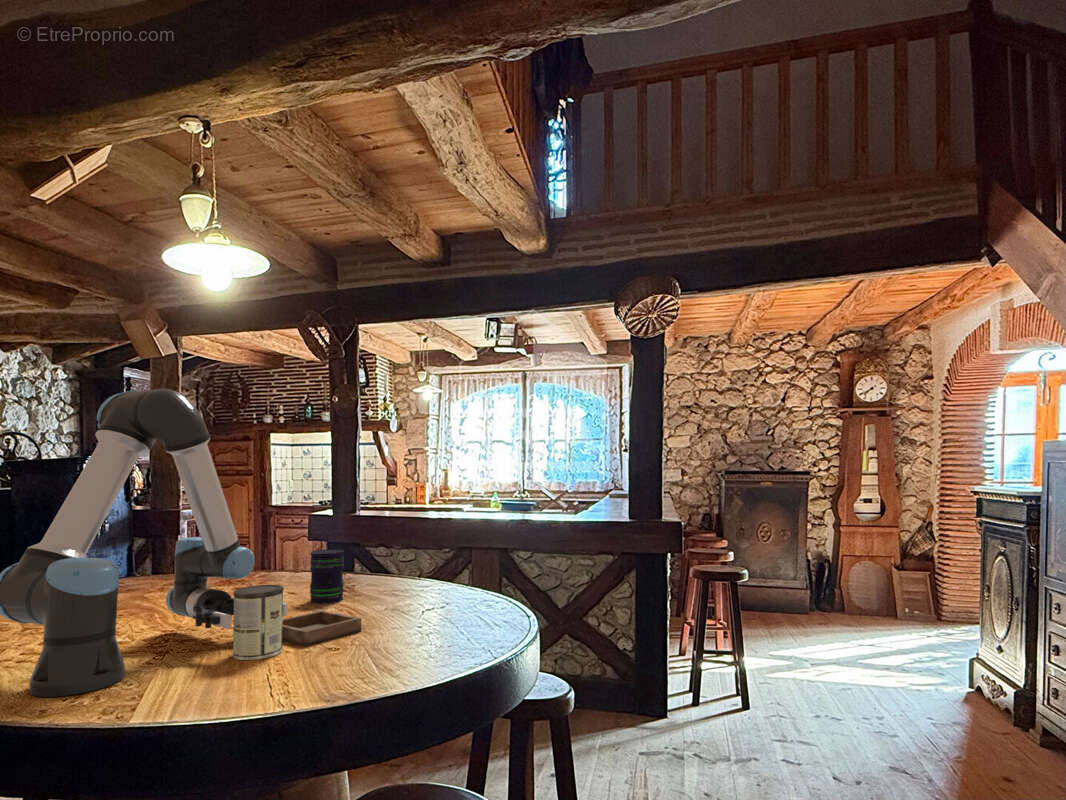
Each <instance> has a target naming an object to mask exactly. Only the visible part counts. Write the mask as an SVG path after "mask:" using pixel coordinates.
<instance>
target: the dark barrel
mask: <svg viewBox="0 0 1066 800" xmlns="http://www.w3.org/2000/svg"><path fill="white" fill-rule="evenodd" d="M344 562H345V559H344V549H341V548H340V549H339V548H338V549H337V548H334V549H331V548H329V549H319V550H311V551H310V563H309V564H310V568H309V570H310V572H311V578H310V585H309V594H310V600H309V601H310V602H311V603H310V604H312V603H316V604H315V605H326V604H325V603H331V604H335V603H334V602H337V603H339V602H338V601H340V602H342V601H343V600H344V597H343V596H344V589H345V587H344V584H345V583H344V580H343V569H344ZM341 600H342V601H341ZM323 603H324V604H323Z"/></svg>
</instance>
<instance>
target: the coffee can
mask: <svg viewBox="0 0 1066 800" xmlns="http://www.w3.org/2000/svg"><path fill="white" fill-rule="evenodd" d="M283 593H284V586H283V585H279V584H259V585H257V584H256V585H251V586H245V587H244V586H243V587H240V588H237V589H235V590H233V598H234V615H233V634H232V635H233V639H232V640H233V641H232V643H233V646H232V650H233V651H232V653H233V654H232V658H233V659H235V660H238V661H256V660H257V661H258V660H264V659H269V658H271V657H275V656H277V655H280V654H281V653H282V652H283V641H282V619H283V616H282V613H283V603H284V601H283V600H284V599H283V597H284V594H283Z"/></svg>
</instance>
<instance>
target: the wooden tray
mask: <svg viewBox="0 0 1066 800" xmlns="http://www.w3.org/2000/svg"><path fill="white" fill-rule="evenodd" d="M359 632H362V617H357V616H353V615H348V614H343V613H337V612H332V611H327V610H324V609H323V610H319V611H314V612H310V613H306V614H301V615H297V616H291V617H288V618H282V642H286V643H290V644H295V645H298V646H303V647H308V646H312V645H315V644H319V643H324V642H327V641H330V640H333V639H339V638H341V637H344V636H349V635H353V634H356V633H359Z"/></svg>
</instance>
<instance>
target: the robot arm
mask: <svg viewBox="0 0 1066 800" xmlns="http://www.w3.org/2000/svg"><path fill="white" fill-rule="evenodd" d="M96 421H97V431H96V432H95V437H96V439H97V441H98V443H97V445H96V447H95V449H94V451H93V452H92V454H91V456H90V457H89V459H88V461H87V463H86V464H85V466H84V467H83V469H82V470H81V472H80V475H79V476H78V478H77V480H76V481H75V483H74V484H73V486H72V488H71V490H70V491H69V493H68V495H67V497H66V498H65V500H64V502H63V503H62V505H61V507H60V509H59V510H58V512H57V514H56V515H55V517H54V518H53V521H52V522H51V524H50V526H49V527H48V529H47V531H46V532H45V534H44V536H43V538H42V539H41V541H40V542H38V543H36V544H33V545H31V546H28V547H27V548H26V550H25V551H24V553H23V555H22V556H21V558H20V559H19V561H18V562H17V563H14V564H11V565H10V566H7V567H6V568H5V569H3V570H2V571H1V572H0V616H2V617H3V618H5V619H7V620H10V621H13V622H17V623H20V624H35V625H42V626H43V642H42V648H41V652H40V655H39V657H38V660H37V662H36V664H35V667H34V669H33V671H32V674H31V676H30V678H29V679H30V680H29V684H28V685H29V686H28V689H29V690H28V693H29V695H32V696H35V697H41V698H53V697H54V698H55V697H64V696H72V695H79V694H84V693H88V692H93V691H97V690H100V689H104V688H106V687H110V686H113V685H114V684H117V683H118V682H120V681H122V680H123V679H124V678H125V670H126V669H125V667H126V665H125V662H124V659H123V658H124V657H123V655H122V653H121V649H120V646H119V643H118V640H117V636H116V635H117V634H116V633H117V617H118V616H117V615H118V614H117V613H118V595H119V593H118V592H119V591H118V590H119V585H120V579H119V569H118V565H117V564H116V563H115V562H114V561H112V560H109V559H105V558H101V557H100V558H99V557H87V556H86V555H87V553H88V551H89V550H90V547H91V545H92V544H93V542H94V540H95V538H96V537H97V535H98V533H99V531H100V529H101V527H102V525H103V524H104V522H105V519H106V518H107V516H108V515H109V513H110V511H111V509H112V507H113V506H114V503H115V502H116V500H117V498H118V496H119V494H120V492H121V491H122V488H123V486H124V485H125V483H126V481H127V479H128V477H129V475H130V474H131V472H132V470H133V468H134V466H135V464H136V463H137V461H138V459H139V458H141V457H144V456H147V455H149V453H150V452H151V450H152V448H153V446H154V444H155V443H156V441H157V440H159V441H160V442H161V443H162V445H163V448H164V450H165V451H164V452H165V453H167V454H170V455H171V456H172V458H173V460H174V461H173V462H174V464H175V466H176V469H177V472H178V475H179V478H180V481H181V483H182V484H181V485H182V486H183V489H184V492H185V495H186V497H187V502H188V504H189V507H190V510H191V512H192V516H193V518H194V521H195V524H196V527H197V530H198V532H199V535H200V536H191V537H182V538H179V539H178V540H176V542H175V550H174V555H173V556H174V572H173V574H174V581H173V586H172V588H170V590H169V591H168V593H167V595H166V597H165V605H166V607H167V609H168V610H169V612H171V613H174V614H176V615H178V616H180V617H187V618H192V619H193V620H195V627H201V626H202V625H203V624H205V625H204V627H205V629H210V628H212V625H213V626H216V627H220V628H225V629H227V630H229V629H232V628H233V627H232V624H233V623H232V622H233V621H232V619H233V618H232V617H233V616H234V597H232V596H231V595H230V594H229V593H228V592H227V591H225V590H221V589H215V588H211V587H208V578H216V579H217V578H219V579H226V580H237V579H244V578H245V577H247V576H249V575H250V573H251V572H252V571H253V568H254V565H255V559H256V557H255V555H254V552H253V551H252V550H251V549H250V548H249V547H245V546H242V545H241V544H240V540H239V537H238V534H237V531H236V527H235V525H234V522H233V519H232V515H231V513H230V509H229V507H228V504H227V500H226V498H225V495H224V492H223V488H222V484H221V482H220V479H219V477H218V473H217V469H216V467H215V463H214V460H213V458H212V455H211V452H210V450H209V449H210V448H209V445H208V444H209V442H210V440H211V436H210V433H209V431H208V428H207V426H206V423H205V420H204V419H203V417H202V415H201V413H200V412H199V410H198V409H197V407H196V406H195V405H194V403H193V402H192V401H191V400H190V399H189V398H187V397H186V396H185V395H184V394H182V393H180V392H178V391H176V390H173V389H170V388H157V389H148V390H146V389H145V390H139V391H138V390H128V391H127V390H126V391H124V392H120V393H116V394H113V395H111V396H109V397H108V398H107V399H105V401H104V402H102V404H101V405H100V406H99V408H98V411H97V414H96ZM288 605H289V603H288V602H287V603H286V602H283V613H282V617H285V616H286V617H287V616H288V611H289V610H288Z"/></svg>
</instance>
